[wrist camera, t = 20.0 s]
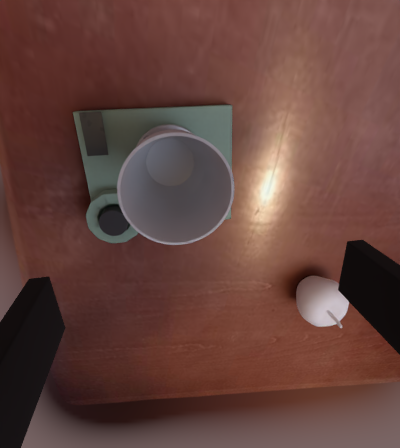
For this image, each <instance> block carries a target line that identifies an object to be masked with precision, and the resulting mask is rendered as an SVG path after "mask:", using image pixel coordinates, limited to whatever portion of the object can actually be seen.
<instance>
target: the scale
mask: <svg viewBox="0 0 400 448" xmlns="http://www.w3.org/2000/svg"><path fill="white" fill-rule="evenodd" d="M79 112H102V118H103V124H104V130H105V136H106V142H107V148H108V154H109V155H99V156H87V151H86V146H85V141H84V136H83V131H82V126H81V121H80V116H79ZM73 116H74V121H75V126H76V131H77V135H78V140H79V145H80V150H81V155H82V160H83V164H84V169H85V174H86V179H87V184H88V189H89V193H90V198H91V203H90V205H89V208H88V210H87V213H86V219H87V224H88V228H89V229H90V230H91V231H92V232H93V233H94V235H95V236H96V237H97V238H98V239H101V240H104V241H106V242H109V243H120V242H127V241H128V240H130V239H131V238H133V237H134V236H136V235H137V234H138V232H137V231H136V230H135V229H134V228H133V227H132V226H131V225H130V224H129V222H128V227H127V229H126V231H125V232H124V233H123V234H121V235H118V236H110V235H107V234H105V233H104V232H103V231H102V230H101V229H100V227H99V218H100V216H101V214H102V212H103V210H104V209H105V208H107V207H109V206H119V207H120V205H119V201H118V195H117V184H118V178H119V174H120V171H121V168H122V166H123V164H124V162H125V160H126V159H127V157H128V156H129V155H130V154H131V152H132V151H133V150H134V149H135V148H136V146H137V144H138V142H139V140H140V139H141V137H142V136H143V135H144V134H145V133H146V132H147V131H148V130H150V129H152V128H153V127H156V126H159V125H163V124H174V125H179V126H182V127H184V128H186V129H187V130H189V131H190V132H192V133H193V134H194V135H196V136H198V137H201V138H203V139H205V140H206V141H208V142H210V143H211V144H212V145H214V146H215V147H216V148H217V149H218V150H219V151H220V152H221V153H222V154H223V156H224V157H225V159H226V160H227V162H228V164H229V166H230V168H231V169H232V105H228V104H225V105H202V106H180V107H157V108H134V109H112V110H89V111H75V112H73ZM225 219H231V208H230V210H229V212H228V214H227V216H226V218H225Z"/></svg>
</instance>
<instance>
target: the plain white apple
mask: <svg viewBox="0 0 400 448" xmlns="http://www.w3.org/2000/svg"><path fill="white" fill-rule="evenodd" d="M338 287H339V283H337V282H335V281H333V280H331V279H327V278H323V277H319V276H309V277H306V278H305V279H303V280H302V281H301V282H300V283H299V285H298V287H297V290H296V303H297V308H298V310H299V313H300V314H301V316H302V317H303V318H304V319H305V320H306V321H308V322H309V323H311V324H313V325H315V326H318V327H325V326H332V325H335V324H337V325H338V326H339V327H340V328H342V327H343V326H342V325H341V323H340V322H339V321H340V320H341V319H342V318H343V317H344V316H345V314H346V312H347V309H348V305H349V301H348V300H347V299H346V298H345V297H344V296H343V295H342V294H341V293H340V292H339V291H338Z"/></svg>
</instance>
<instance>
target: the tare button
mask: <svg viewBox="0 0 400 448" xmlns="http://www.w3.org/2000/svg"><path fill="white" fill-rule="evenodd" d="M99 227H100V229H101V230H102V231H103V232H104V233H105V234H107V235H110V236H118V235H121V234H123V233H124V232H125V231H126V229H127V227H128V221H127V220H126V218H125V216H124V215H123V213H122V210H121V208H120V207H119V206H109V207H107V208H105V209H104V210H103V212H102V214H101V216H100V218H99Z"/></svg>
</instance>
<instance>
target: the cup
mask: <svg viewBox="0 0 400 448" xmlns="http://www.w3.org/2000/svg"><path fill="white" fill-rule="evenodd" d="M117 195H118V201H119V205H120V208H121V210H122V213H123V215H124V216H125V218H126V220H127V221H128V222H129V224H130V225H131V226H132V227H133V228H134V229H135V230H136V231H137V232H139V233H140V234H141V235H143V236H144V237H146V238H148V239H150V240H152V241H155V242H158V243H162V244H168V245H182V244H188V243H192V242H195V241H198V240H200V239H202V238H204V237H206V236H208V235H209V234H211V233H212V232H213V231H214V230H215V229H217V228H218V227H219V226H220V224H221V223H222V222H223V221H224V219H225V218H226V216H227V214H228V212H229V210H230V208H231V205H232V202H233V197H234V179H233V174H232V171H231V168H230V166H229V164H228V162H227V160H226V159H225V157H224V156H223V154H222V153H221V152H220V151H219V150H218V149H217V148H216V147H215V146H214V145H212V144H211V143H210V142H208V141H206V140H205V139H203V138H201V137H198V136H196V135H194V134H192V133H189V132H186V131H182V130H163V131H159V132H156V133H154V134H152V135H150V136H148V137H146V138H145V139H144V140H143V141H141V142H140V143H139V144H138V145H137V147H136V148H135V149H134V150H133V151H132V152H131V154H130V155H129V156H128V157H127V159H126V160H125V162H124V164H123V166H122V168H121V171H120V174H119V178H118V184H117Z"/></svg>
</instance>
